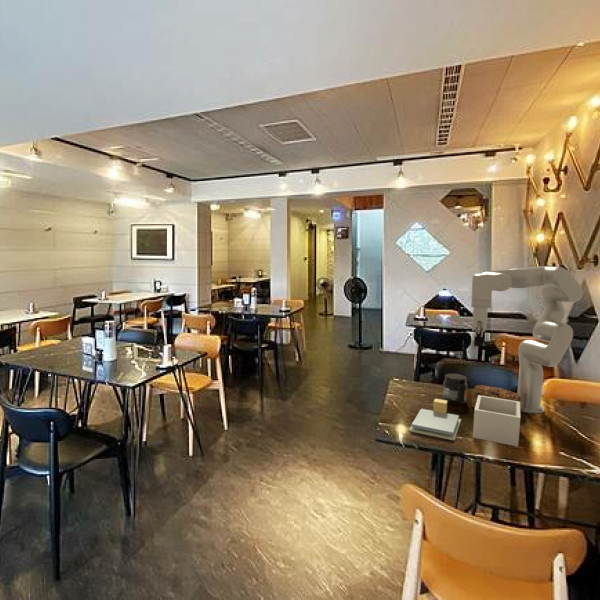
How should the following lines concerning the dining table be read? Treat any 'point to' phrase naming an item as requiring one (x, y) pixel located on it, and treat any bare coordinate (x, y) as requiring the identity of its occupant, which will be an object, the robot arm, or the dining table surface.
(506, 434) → the open box
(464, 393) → the supplement container
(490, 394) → the bread
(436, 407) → the lid
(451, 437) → the mat
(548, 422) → the dining table surface
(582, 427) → the dining table surface
